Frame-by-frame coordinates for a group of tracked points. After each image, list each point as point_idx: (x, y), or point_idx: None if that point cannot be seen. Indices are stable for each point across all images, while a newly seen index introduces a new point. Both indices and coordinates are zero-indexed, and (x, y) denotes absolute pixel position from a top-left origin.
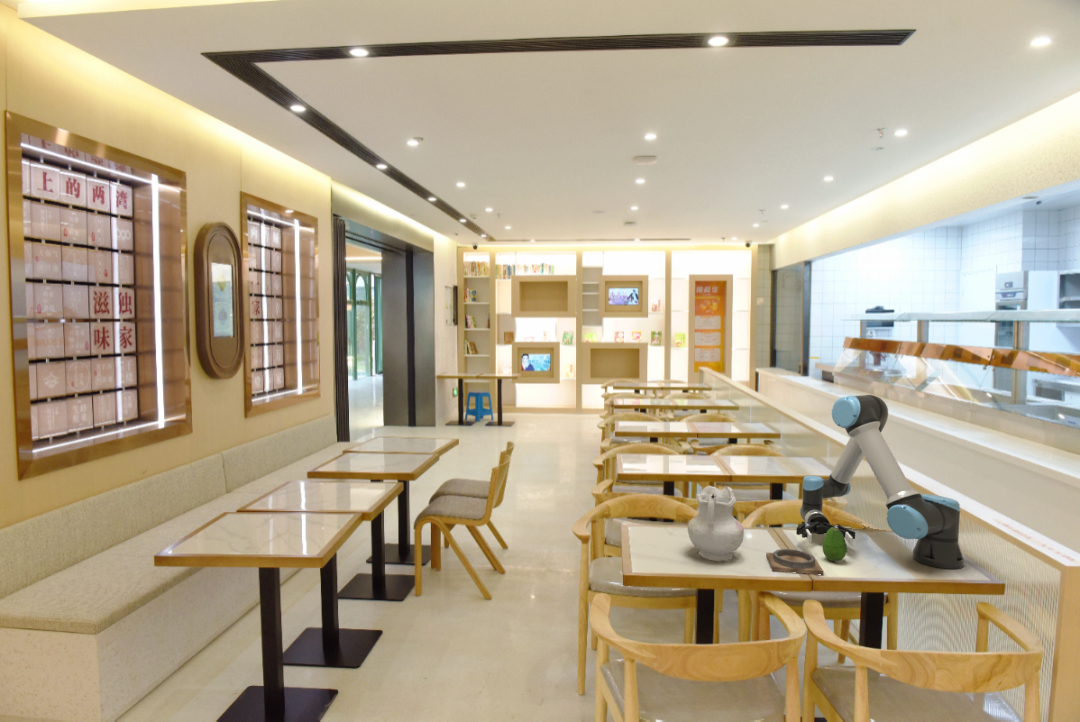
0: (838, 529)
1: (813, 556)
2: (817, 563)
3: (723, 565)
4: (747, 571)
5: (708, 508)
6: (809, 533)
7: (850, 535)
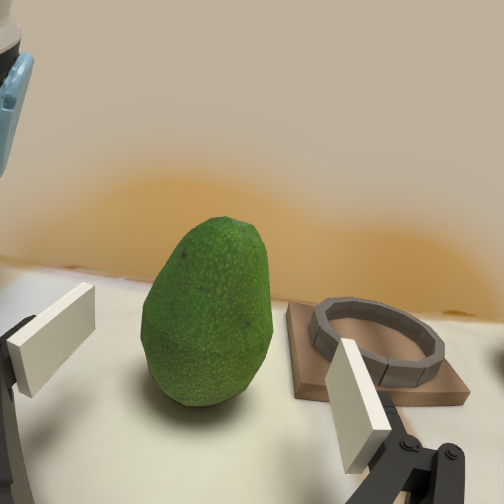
0: (203, 222)
1: (317, 321)
2: (298, 333)
3: (499, 348)
4: (453, 332)
5: None
6: (355, 356)
7: (54, 303)
